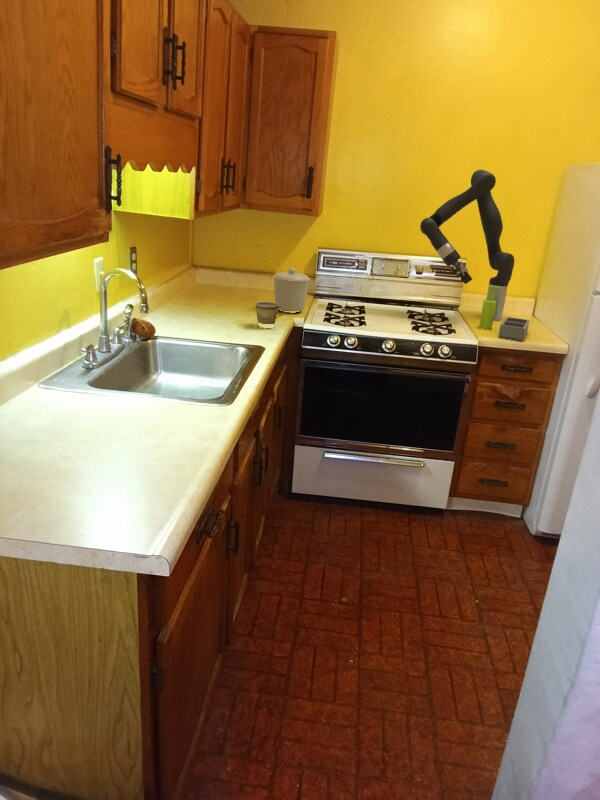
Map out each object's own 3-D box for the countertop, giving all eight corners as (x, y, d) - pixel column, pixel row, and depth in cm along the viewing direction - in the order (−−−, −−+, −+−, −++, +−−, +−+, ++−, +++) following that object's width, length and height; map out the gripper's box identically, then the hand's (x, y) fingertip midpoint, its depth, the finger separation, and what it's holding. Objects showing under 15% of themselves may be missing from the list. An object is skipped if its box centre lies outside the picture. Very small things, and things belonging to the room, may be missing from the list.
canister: (301, 307, 310) (304, 265, 303) (313, 315, 294) (316, 271, 287) (266, 307, 305) (268, 264, 297) (276, 315, 289) (279, 270, 281)
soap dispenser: (494, 330, 291) (502, 288, 284) (479, 328, 292) (486, 286, 285) (493, 327, 296) (500, 286, 289) (478, 326, 297) (485, 284, 290)
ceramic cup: (250, 327, 264) (251, 304, 261) (260, 323, 273) (261, 300, 269) (278, 332, 260) (279, 308, 256) (287, 327, 269) (288, 304, 265)
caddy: (504, 329, 295) (506, 316, 293) (527, 332, 291) (529, 320, 289) (498, 337, 277) (500, 324, 275) (522, 341, 273) (525, 328, 271)
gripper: (451, 250, 283) (473, 278, 283) (458, 248, 296) (478, 275, 295) (438, 260, 287) (459, 288, 287) (445, 257, 300) (465, 284, 299)
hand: (469, 281), depth 291 cm, fingers open, 8 cm apart
